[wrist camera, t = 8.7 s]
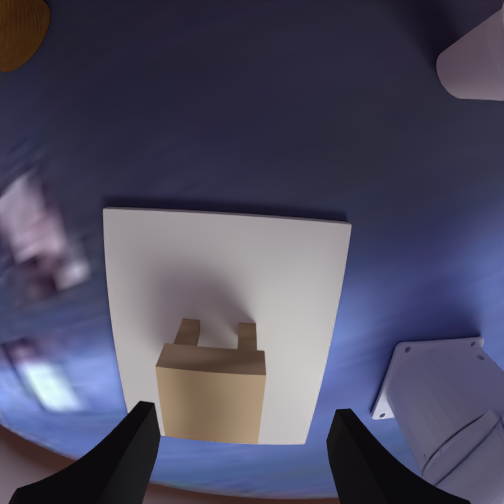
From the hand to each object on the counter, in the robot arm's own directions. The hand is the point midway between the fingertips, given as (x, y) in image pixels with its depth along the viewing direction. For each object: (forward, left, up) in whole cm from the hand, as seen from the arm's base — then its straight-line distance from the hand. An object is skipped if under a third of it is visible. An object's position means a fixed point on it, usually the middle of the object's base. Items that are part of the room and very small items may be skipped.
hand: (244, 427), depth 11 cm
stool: (+2, +3, -9) cm, 10 cm away
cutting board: (+2, +3, -10) cm, 11 cm away
